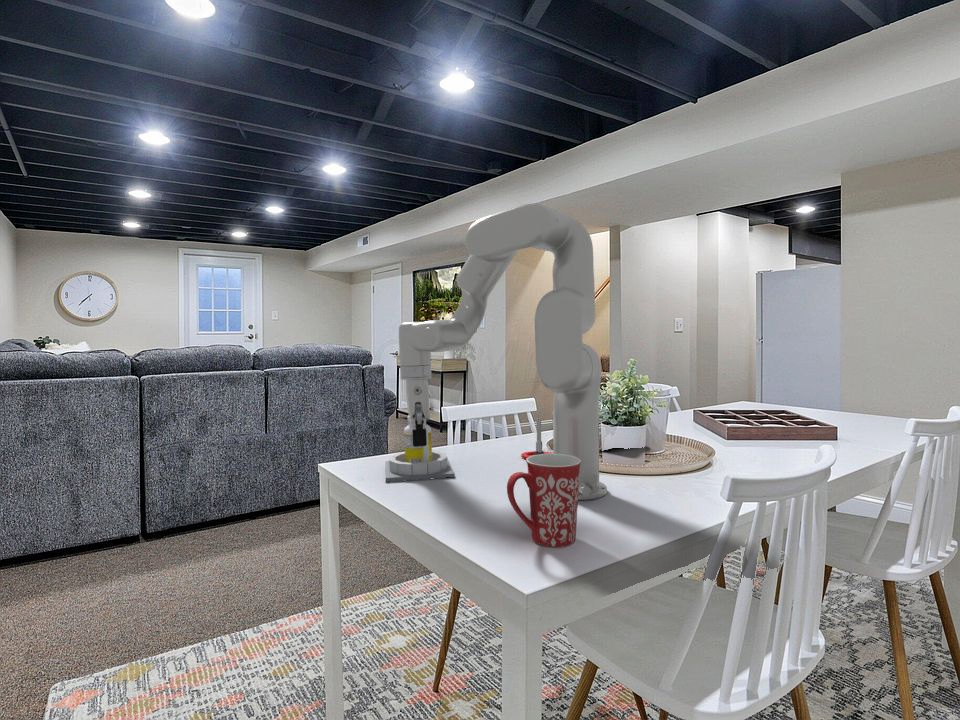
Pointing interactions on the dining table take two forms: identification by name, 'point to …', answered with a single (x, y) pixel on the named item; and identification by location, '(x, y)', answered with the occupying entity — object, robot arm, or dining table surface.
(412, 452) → the supplement bottle
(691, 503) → the dining table surface
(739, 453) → the dining table surface
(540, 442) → the tow hook
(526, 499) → the dining table surface
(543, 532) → the mug
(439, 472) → the ring block
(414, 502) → the dining table surface
